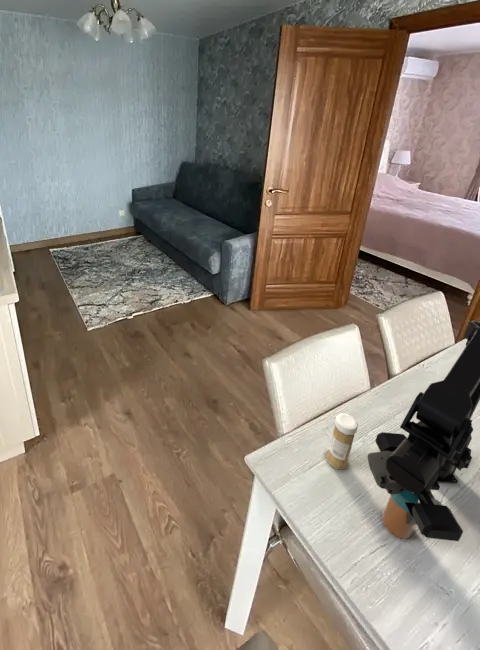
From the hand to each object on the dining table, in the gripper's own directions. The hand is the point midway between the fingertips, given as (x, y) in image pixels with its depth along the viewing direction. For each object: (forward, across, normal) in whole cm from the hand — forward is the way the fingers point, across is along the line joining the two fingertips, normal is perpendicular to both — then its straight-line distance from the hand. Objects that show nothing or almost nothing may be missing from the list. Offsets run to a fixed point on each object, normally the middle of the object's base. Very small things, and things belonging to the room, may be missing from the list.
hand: (401, 507), depth 69 cm
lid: (-3, 0, 0) cm, 3 cm away
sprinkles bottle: (+6, -13, -7) cm, 16 cm away
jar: (+5, 0, 0) cm, 5 cm away
